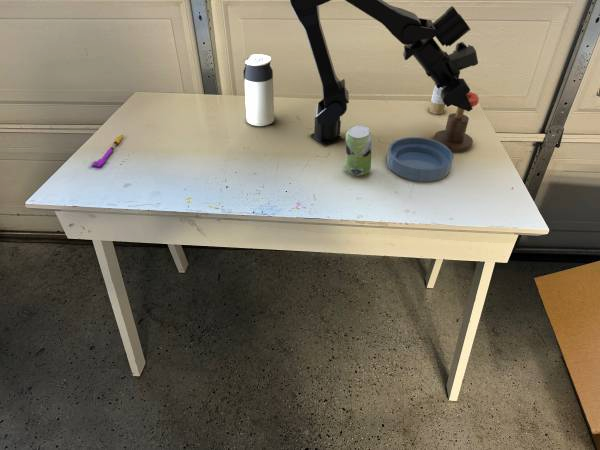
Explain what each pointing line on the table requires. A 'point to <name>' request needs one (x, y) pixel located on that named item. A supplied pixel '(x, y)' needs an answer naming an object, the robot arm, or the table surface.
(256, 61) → the travel mug
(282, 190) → the table surface
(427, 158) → the dish
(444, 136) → the ring stand
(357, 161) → the beverage can
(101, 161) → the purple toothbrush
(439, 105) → the sprinkles bottle
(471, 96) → the ring
